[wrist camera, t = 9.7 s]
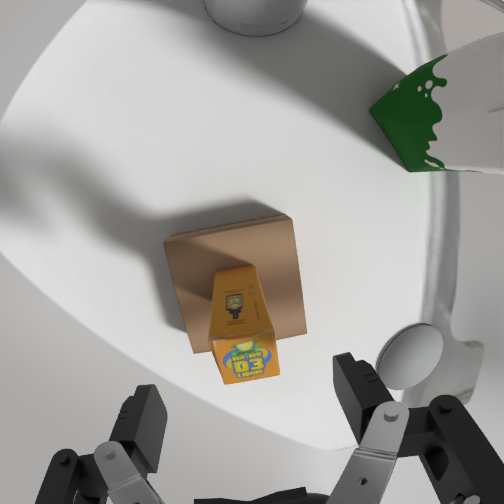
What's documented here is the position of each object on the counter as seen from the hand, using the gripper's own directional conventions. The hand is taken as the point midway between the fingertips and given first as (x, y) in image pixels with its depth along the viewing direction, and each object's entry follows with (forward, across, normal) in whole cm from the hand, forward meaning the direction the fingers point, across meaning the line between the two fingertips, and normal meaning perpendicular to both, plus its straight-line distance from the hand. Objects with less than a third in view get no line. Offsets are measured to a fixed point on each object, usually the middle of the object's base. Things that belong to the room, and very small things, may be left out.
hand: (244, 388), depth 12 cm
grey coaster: (+15, -18, +14) cm, 28 cm away
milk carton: (+16, -19, -12) cm, 27 cm away
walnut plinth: (+15, 0, 0) cm, 15 cm away
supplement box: (+12, 0, 0) cm, 12 cm away
